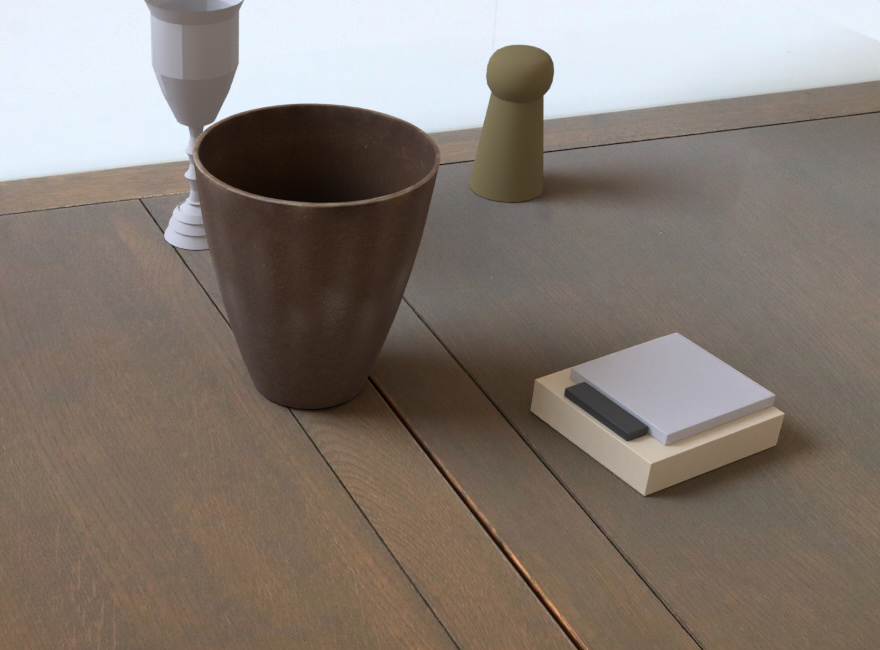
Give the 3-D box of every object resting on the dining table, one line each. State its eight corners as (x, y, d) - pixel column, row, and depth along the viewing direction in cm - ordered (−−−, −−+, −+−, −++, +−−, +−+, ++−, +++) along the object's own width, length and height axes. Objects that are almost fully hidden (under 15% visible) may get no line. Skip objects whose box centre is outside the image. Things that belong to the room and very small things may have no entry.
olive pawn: (535, 207, 125) (554, 69, 118) (461, 195, 126) (475, 59, 119) (549, 176, 129) (568, 41, 122) (477, 165, 131) (492, 31, 123)
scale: (657, 366, 107) (666, 324, 104) (776, 445, 99) (788, 402, 97) (529, 411, 102) (536, 368, 100) (644, 496, 95) (653, 452, 93)
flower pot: (158, 353, 107) (151, 126, 97) (347, 305, 113) (359, 85, 102) (260, 465, 97) (265, 225, 87) (462, 406, 103) (489, 173, 92)
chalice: (226, 208, 124) (226, -27, 112) (257, 246, 119) (261, 4, 108) (138, 223, 122) (129, -15, 110) (166, 261, 117) (160, 17, 106)
